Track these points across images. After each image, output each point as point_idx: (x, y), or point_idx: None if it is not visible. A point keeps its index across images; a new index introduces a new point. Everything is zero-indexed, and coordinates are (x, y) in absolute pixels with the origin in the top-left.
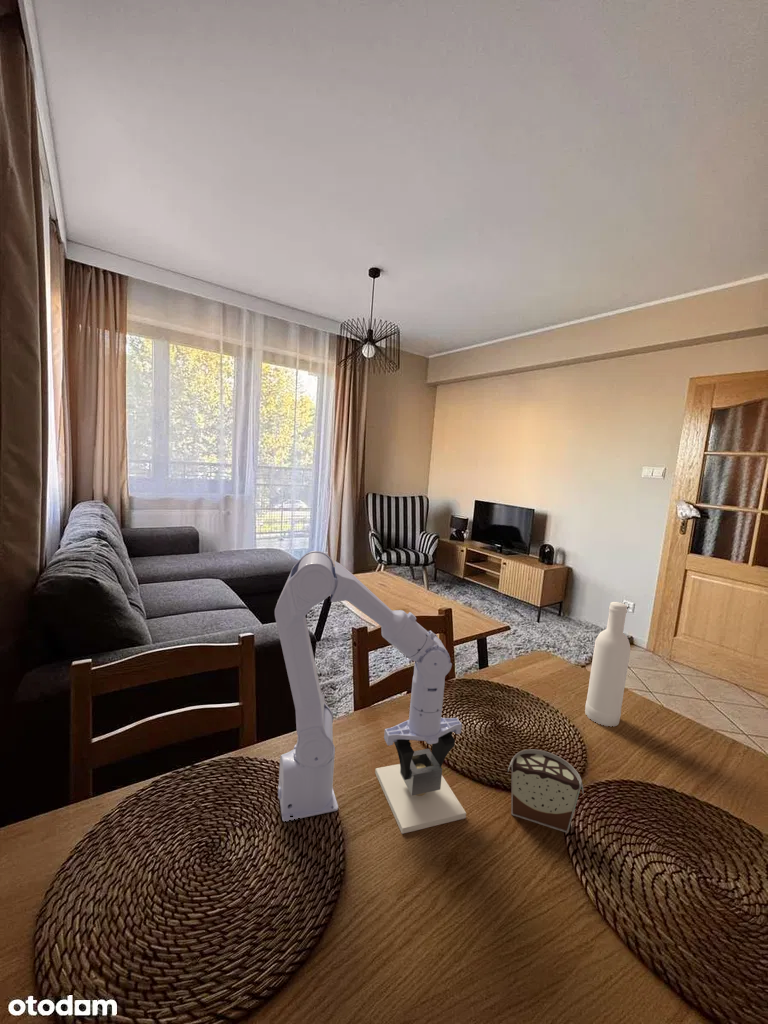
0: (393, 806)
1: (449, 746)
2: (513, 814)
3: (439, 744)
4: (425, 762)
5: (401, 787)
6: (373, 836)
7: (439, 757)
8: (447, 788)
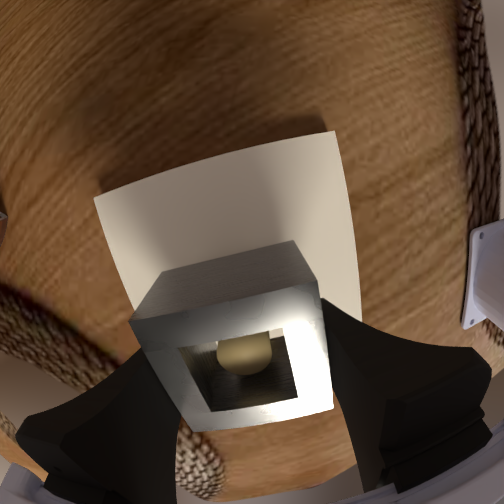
0: (349, 225)
1: (47, 422)
2: (3, 215)
3: (122, 450)
4: (213, 379)
5: None
6: (407, 138)
7: (136, 383)
8: (139, 300)
